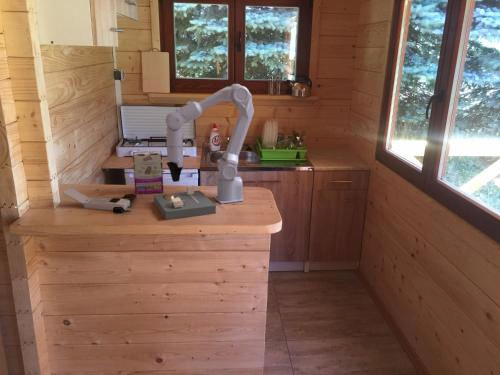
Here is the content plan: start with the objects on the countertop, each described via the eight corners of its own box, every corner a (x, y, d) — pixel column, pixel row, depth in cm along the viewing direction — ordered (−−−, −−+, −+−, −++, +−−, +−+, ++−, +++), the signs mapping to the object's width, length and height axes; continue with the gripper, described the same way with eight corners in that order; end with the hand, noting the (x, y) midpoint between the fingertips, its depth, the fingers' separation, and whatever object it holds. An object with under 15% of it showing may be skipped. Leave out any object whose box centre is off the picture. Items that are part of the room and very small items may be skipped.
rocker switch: (179, 199, 150) (179, 196, 149) (183, 206, 146) (183, 203, 145) (170, 200, 148) (170, 197, 148) (174, 207, 144) (174, 204, 144)
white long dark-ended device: (69, 187, 155) (135, 191, 152) (71, 202, 156) (136, 206, 154) (61, 192, 149) (128, 197, 146) (63, 207, 151) (130, 212, 148)
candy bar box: (162, 189, 173) (161, 150, 168) (163, 193, 169) (162, 153, 164) (134, 190, 170) (132, 151, 165) (134, 194, 166) (132, 154, 161)
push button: (173, 201, 159) (173, 193, 158) (175, 204, 156) (175, 196, 155) (163, 202, 157) (163, 194, 156) (166, 205, 154) (166, 197, 153)
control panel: (199, 197, 166) (199, 185, 164) (215, 213, 150) (215, 200, 149) (153, 202, 158) (153, 190, 157) (166, 220, 143) (165, 206, 141)
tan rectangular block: (192, 192, 160) (192, 185, 159) (194, 194, 159) (194, 186, 158) (186, 193, 159) (186, 185, 158) (187, 194, 158) (187, 187, 157)
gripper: (158, 142, 157) (160, 176, 162) (169, 150, 145) (170, 188, 149) (177, 141, 160) (178, 175, 165) (189, 149, 148) (189, 185, 152)
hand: (175, 181), depth 157 cm, fingers closed
